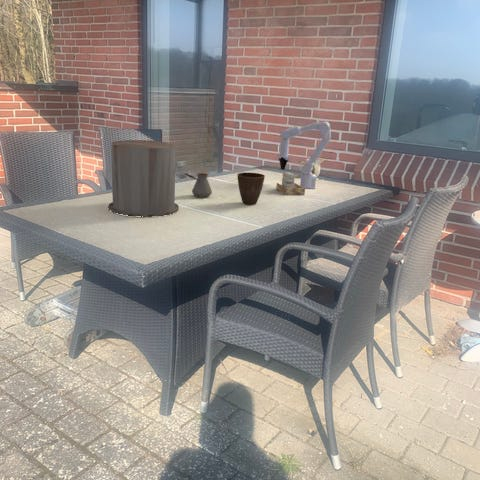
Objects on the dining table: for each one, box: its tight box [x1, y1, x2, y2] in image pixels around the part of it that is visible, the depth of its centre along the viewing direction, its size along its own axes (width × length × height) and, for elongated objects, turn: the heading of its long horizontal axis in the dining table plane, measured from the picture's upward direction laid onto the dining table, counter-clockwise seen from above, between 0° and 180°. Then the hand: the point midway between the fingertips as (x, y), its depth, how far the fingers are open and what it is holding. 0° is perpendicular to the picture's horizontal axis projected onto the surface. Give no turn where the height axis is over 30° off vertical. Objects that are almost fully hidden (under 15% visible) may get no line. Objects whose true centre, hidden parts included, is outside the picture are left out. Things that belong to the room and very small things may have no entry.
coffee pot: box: [182, 172, 213, 199], centre depth 281 cm, size 21×12×15 cm, turn 144°
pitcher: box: [299, 158, 325, 179], centre depth 365 cm, size 11×18×14 cm, turn 64°
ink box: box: [281, 171, 296, 188], centre depth 312 cm, size 8×5×12 cm, turn 17°
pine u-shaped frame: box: [275, 182, 306, 196], centre depth 313 cm, size 13×17×4 cm
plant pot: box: [236, 172, 266, 206], centre depth 274 cm, size 15×15×16 cm
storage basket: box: [107, 139, 180, 218], centre depth 249 cm, size 35×35×32 cm
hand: (282, 169), depth 331 cm, fingers closed
